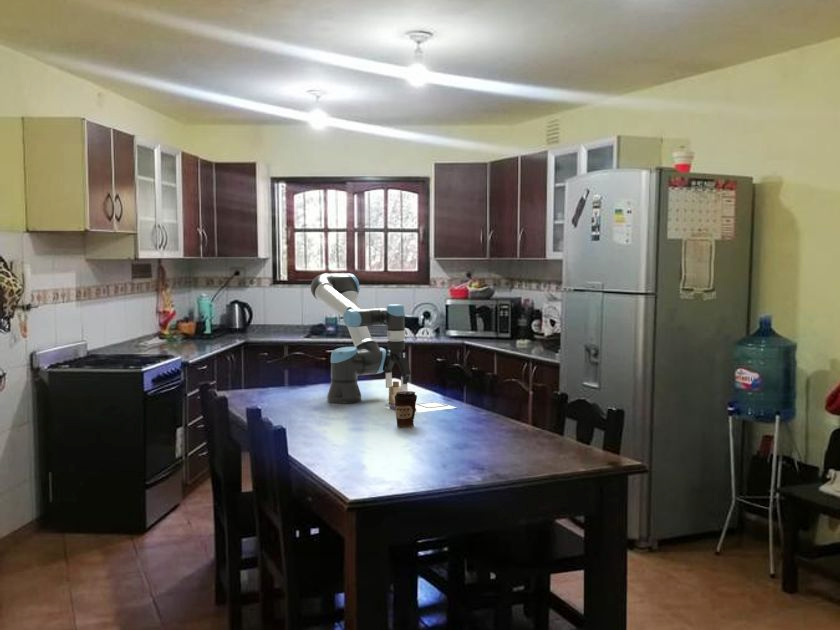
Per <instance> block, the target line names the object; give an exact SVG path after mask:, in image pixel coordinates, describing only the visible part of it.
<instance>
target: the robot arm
mask: <svg viewBox="0 0 840 630" xmlns="http://www.w3.org/2000/svg"><path fill="white" fill-rule="evenodd" d="M310 292H311V294H312V296H313V297H314V298H315V299H316V300H317V301H318V302H321V303H324V304H326V305H327V306H328V307H329V308H331V309H332V310H333V311H335V312H336V313H338V315H339V316H341V317H342V319H343V323H344V326H346V328H347V329H348V332H349V336H350V337H351V340H352V342H353V346H343V347H339V348H335V349H334V350H332V351H331V353H330V354H331V355H330V385H329V389H328V392H327V395H326V400H327V402H328V403H333V404H353V403H358V402H361V401H362V393H361V390H360V387H359V384H358V376H369V375H370V376H371V375H377V374H382V373H385V388H386V389H389V386H393V373H392V369H393V367H394V365H395V364H396V365H397V366H398V369H399V371H400V374H401V375H400V386H401V392H402V391H409V390H408V377H409V376H411V374H412V373H411V369H410V365H409V361H408V358H407V357H408V356H407V353H406V352H403V350H405V349H406V348H405V347H406V345H405V344H406V343H405V337H406V336H405V334H406V333H405V323H406V322H405V319H406V318H405V314H406V313H405V306H404V304H398V303H397V304H396V303H395V304H394V303H393V304H392V303H391V304H387V306H386V308H384V307H375V308H360V305H359V302H358V300H357V299H358V298H359V293H360V283H359V279H358V278H357V277H356V275H355V274H353V273H346V272H342V273H321V274H319V275H317V276H316V277H314V278H313V279H312V282H311V283H310ZM378 326H379V327H380V326H383V327H385V326H386V339H387V341H386V343H387V344H386V348H387V349H385V348H383V347H379V344H378V342H377V340H374V339H373V338H372V336H371V332H370V330H369V327H378Z"/></svg>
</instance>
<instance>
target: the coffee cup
mask: <svg viewBox="0 0 840 630" xmlns="http://www.w3.org/2000/svg"><path fill="white" fill-rule="evenodd" d="M417 398H418V395H417V394H416V392H415V391H411V390H408V391H402V392H397V394H396V395H395V409H396V411H395V418H396V426H397V427H399V428H413V427H415V424H414V420H415V415H416V413H415V405H416V403H417Z"/></svg>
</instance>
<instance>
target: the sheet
mask: <svg viewBox="0 0 840 630" xmlns="http://www.w3.org/2000/svg"><path fill="white" fill-rule="evenodd" d="M390 406H391V405H389V406H384V407H383V408H384V409H388V410H389V411H393V412H395V411H394V410H392V409H390ZM415 408H416V411H415V414H418V413H425V412H426V413H427V412H434V411H443V410H450V409H451V410H452V409H454V408H457V407H456V406H452V405H449V404H446V403H442V402H440V401H436V400H435V401H428V402H419V403H417V402H416V405H415Z"/></svg>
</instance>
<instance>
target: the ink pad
mask: <svg viewBox="0 0 840 630" xmlns="http://www.w3.org/2000/svg"><path fill="white" fill-rule="evenodd" d="M389 406H390V409H392V410H391V411H393V410H394V411H393V412H396V409H395V405H389ZM390 409H389V410H390ZM415 411H416V408H415Z"/></svg>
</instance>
